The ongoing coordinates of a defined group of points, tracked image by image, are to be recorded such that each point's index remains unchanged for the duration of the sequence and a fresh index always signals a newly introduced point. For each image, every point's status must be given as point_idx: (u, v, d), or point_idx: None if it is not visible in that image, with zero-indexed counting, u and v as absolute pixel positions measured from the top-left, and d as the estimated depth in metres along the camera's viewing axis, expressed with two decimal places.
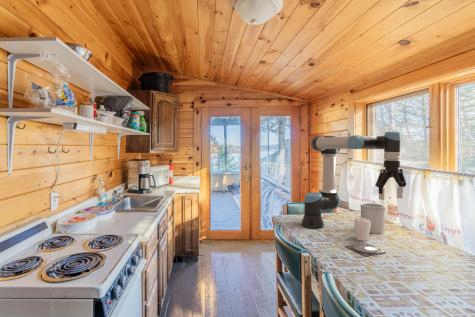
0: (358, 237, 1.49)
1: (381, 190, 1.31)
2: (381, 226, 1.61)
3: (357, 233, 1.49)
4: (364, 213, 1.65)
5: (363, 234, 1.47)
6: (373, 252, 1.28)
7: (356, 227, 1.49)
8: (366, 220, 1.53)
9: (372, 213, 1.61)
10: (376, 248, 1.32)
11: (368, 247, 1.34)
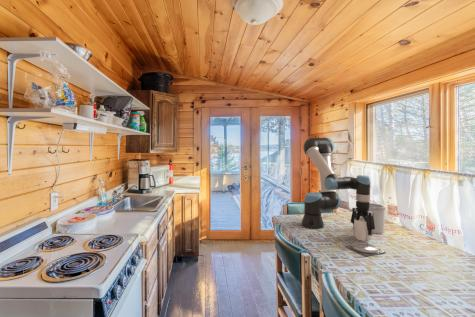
0: (358, 237, 1.49)
1: (353, 226, 1.56)
2: (381, 226, 1.61)
3: (357, 233, 1.49)
4: None
5: (363, 234, 1.47)
6: (373, 252, 1.28)
7: (356, 227, 1.49)
8: None
9: None
10: (376, 248, 1.32)
11: (368, 247, 1.34)
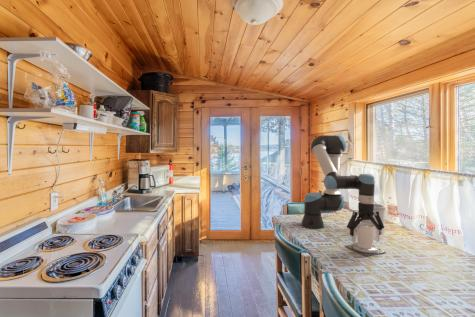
0: (369, 246, 1.31)
1: (352, 232, 1.33)
2: None
3: (369, 242, 1.31)
4: None
5: None
6: (373, 252, 1.28)
7: (369, 235, 1.30)
8: (359, 224, 1.39)
9: None
10: (376, 248, 1.32)
11: None
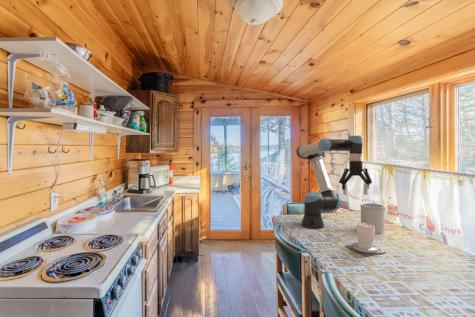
0: (370, 246, 1.31)
1: (344, 186, 1.51)
2: (381, 226, 1.61)
3: (369, 242, 1.31)
4: (364, 213, 1.65)
5: None
6: (373, 252, 1.28)
7: (369, 235, 1.30)
8: (359, 224, 1.38)
9: (372, 213, 1.61)
10: (376, 248, 1.32)
11: None
